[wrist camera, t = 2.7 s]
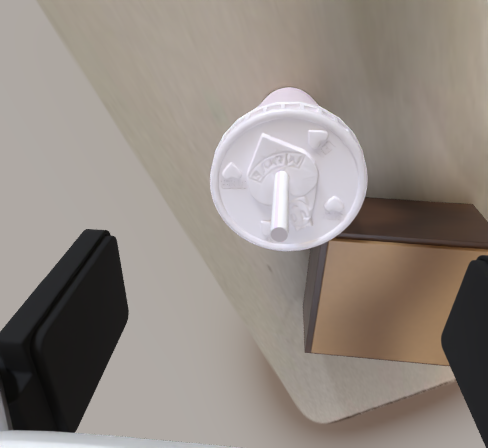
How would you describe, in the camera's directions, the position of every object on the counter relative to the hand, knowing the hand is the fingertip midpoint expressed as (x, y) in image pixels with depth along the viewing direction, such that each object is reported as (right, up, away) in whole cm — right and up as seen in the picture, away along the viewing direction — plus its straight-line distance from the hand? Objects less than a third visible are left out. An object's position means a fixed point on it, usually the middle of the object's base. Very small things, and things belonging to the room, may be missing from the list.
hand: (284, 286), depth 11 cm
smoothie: (+2, +8, +14) cm, 16 cm away
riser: (+9, -1, +18) cm, 20 cm away
